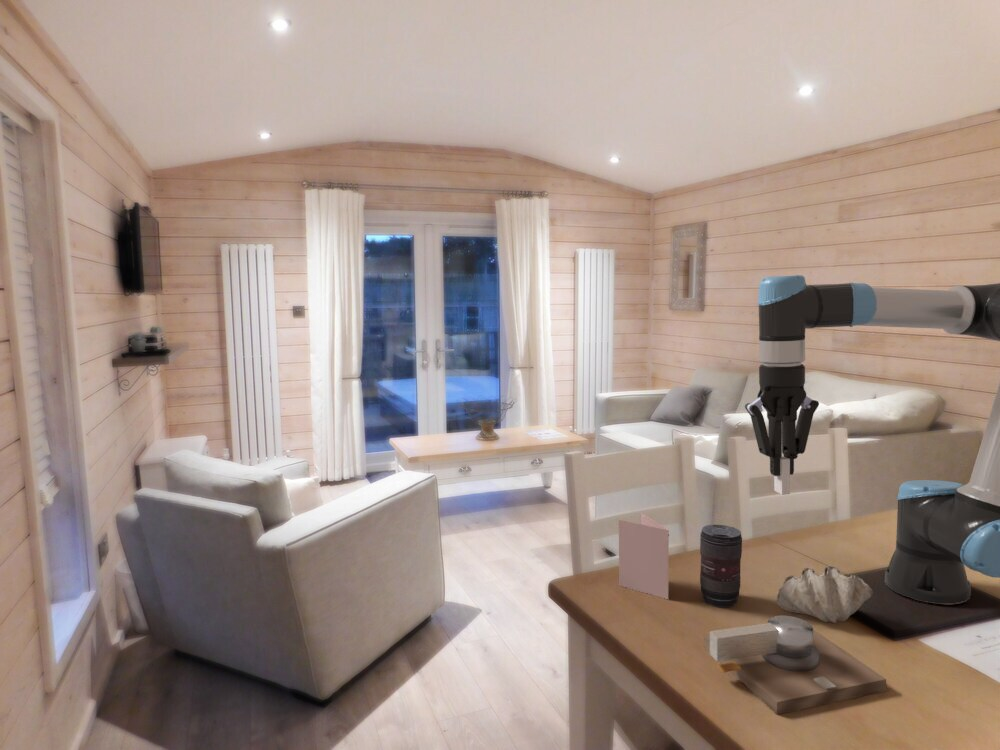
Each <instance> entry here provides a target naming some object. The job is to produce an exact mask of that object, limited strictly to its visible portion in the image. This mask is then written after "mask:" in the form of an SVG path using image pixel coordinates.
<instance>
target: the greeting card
mask: <svg viewBox="0 0 1000 750" xmlns="http://www.w3.org/2000/svg"><path fill="white" fill-rule="evenodd" d="M640 517H641V520H640V521H641V522H640V523H636V522H631V521H626V520H621V519H618V577H619V578H618V585H622V586H624V587H623V588H625V587H627V588H626V589H628V588H630V589H629V590H632V589H633V591H635V590H636V591H635V592H639V591H640V592H639V593H642V592H644V593H643V594H646V593H648V594H647V595H649V594H652V595H651V596H653V595H654V596H653V597H656V596H659V597H658V598H660V597H662V598H661V599H664V598H665V600H667V599H668V600H669V547H670V545H669V542H670V541H669V537H670V534H669V532H670V531H669V529H667V528H666V527H664V525H663V526H662V525H661V524H659V523H657V522H656V521H655V520H654V519H651V518H650V517H648V516H647V515H645V514H644V513H642V512H641V513H640Z"/></svg>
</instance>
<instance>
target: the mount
mask: <svg viewBox="0 0 1000 750" xmlns="http://www.w3.org/2000/svg"><path fill="white" fill-rule="evenodd" d="M703 648H704V649H705V650H706V651H708V652H709V653H710V635H706V636H705V635H704V636H703ZM718 662H719V663H720V664H717V669H719V670H720V671H721V672H722V673H731V672H732V673H733V674H732V673H731V674H732V675H734V676H735V678H736V679H738V680H739V681H740V682H741V683H742V682H743V683H744V684H745V685H746V686H747V687H746V686H745V685H744V684H743V683H742V684H743V685H744V686H745V687H746V688H747V689H749V691H751V692H752V693H753V694H754V695H755V696H756V697H757V698H758V699H759V698H760V699H761V700H760V699H759V700H760V701H761V702H762V703H763V704H765V705H766V706H767V707H768V708H769V709H770V710H771V711H772V712H773V711H774V712H773V713H775V715H781V714H786V713H789V711H790V712H795V711H798V710H799V709H800V710H804V709H807V708H812V707H818V706H822V705H823V706H824V705H827V704H832V703H836V702H841V701H844V700H845V701H846V700H849V699H854V698H859V697H863V696H869V695H873V694H878V693H883V692H886V691H887V679H886V678H885V677H884V676H883V675H881V674H879V673H878V672H877V671H875V670H874V669H872V668H871V667H869V666H867V665H866V664H865V663H864V662H862V661H860V660H859V659H858V658H856V657H854V656H853V655H852V654H850V653H848V651H846V650H844V649H842V648H841V647H840V646H838V645H837V644H836V643H834V642H833V641H831V640H830V639H829V638H827V637H826V636H824V635H823V634H821V633H819V632H818V631H817V630H815V629H814V628H813V651H812V654H811V655H809V656H807V657H803V658H792V657H787V656H783V655H780V654H778V653H772V654H765V655H759V656H752V657H745V658H738V659H732V660H725V661H718ZM730 671H731V672H730Z"/></svg>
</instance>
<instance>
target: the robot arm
mask: <svg viewBox="0 0 1000 750" xmlns="http://www.w3.org/2000/svg"><path fill="white" fill-rule="evenodd" d="M757 300H758V301H757V305H758V331H759V336H758V359H759V360H758V361H759V362H760V363H762V364H760V366H759V367H758V379H759V380H758V384H759V390H758V393H757V398H756V399H755V400H754V401H753V402H751V403H750V402H749V403H746V404H745V405H744V408H745V410H746V412H747V413H748V414H749V416H750V419H751V422H752V427H753V432H754V436H755V439H756V444H757V448H758V451H759V453H760V454H762V455H764V456H766V457H769V471H770V475H772V476H773V481H774V483H773V485H774V492H776V493H778V494H780V495H782V496H784V495H790V494H791V476H792V475H794V472H795V460H797V458H798V455H799V454H800V455H803V454H804V453H805V451H806V447H807V443H808V439H809V434H810V431H811V426H812V422H813V417H814V415H815V412H816V411H817V409H818V408H819V405H820V402H819V401H818V400H814V399H813V398H811V397H808V396H807V392H806V390H805V387H804V386H805V384H806V366H805V365H804V364H803V362H805V361H806V329H818V328H837V327H838V328H839V327H849V328H853V327H857V326H862V327H863V326H865V327H889V328H909V329H910V328H911V329H912V328H914V329H915V328H916V329H936V330H937V329H938V330H943V331H944V332H945V333H948V335H949V334H950V335H961V336H970V337H974V338H975V337H977V338H983V339H986V340H987V339H988V340H990V341H998V342H1000V282H997V283H991V284H981V285H980V284H979V285H955V286H952V287H949V288H948V289H947V290H946V289H945V290H944V289H943V290H942V289H940V290H939V289H919V288H917V289H915V288H896V287H895V288H890V287H889V288H888V287H872V286H871V285H869V284H867V283H865V282H861V283H858V282H855V283H854V282H847V283H834V284H833V283H829V284H823V283H822V284H807V283H806V278H805V276H804V275H800V274H797V275H796V274H795V275H779V276H778V275H777V276H766V277H763V278H762V279H761V280H760V281H759V286H758V299H757ZM993 400H994V401H993V404H992V406H991V410H990V413H989V416H988V420H987V423H986V426H985V430H984V433H983V436H982V439H981V443H980V446H979V450H978V452H977V457H976V459H975V462H974V465H973V469H972V473H971V476H970V478H969V482H967V483H966V484H962V483H960V482H955V481H950V480H949V481H948V480H947V481H946V480H937V479H916V480H915V479H913V480H907V481H904V482H902V483H901V484H900V485H899V488H898V494H897V498H896V501H897V512H896V513H897V514H896V515H897V518H896V535H895V537H896V538H895V539H896V541H895V551H894V552H893V554H892V557H891V558H890V561H889V564H888V566H887V568H886V570H885V572H884V584H885V583H886V584H885V586H886V585H887V586H888V587H889V588H890V589H891V590H890V589H889V588H888V587H887V586H886V587H887V588H888V589H889V590H890V591H892V590H893V591H895V592H897V593H899V594H902V595H905V596H907V597H911V598H914V599H918V600H922V601H928V602H935V603H956V602H961V601H965V600H967V599H969V598H970V596H971V597H972V586H971V582H970V581H969V580H968V576H967V572H966V568H968V569H969V570H972V571H974V572H978V573H980V574H982V575H985V576H987V577H990V578H996V579H1000V382H999V384H998V387H997V391H996V393H995V396H994V399H993ZM799 409H800V410H799ZM764 410H765V411H766V418H767V420H768V430H767V425H766V421H765V418H764V415H763V413H762V412H763V411H764ZM798 411H799V412H798ZM796 421H797V422H796ZM893 591H892V592H893ZM895 592H894V593H895ZM897 593H896V594H897ZM899 594H898V595H899ZM970 599H971V598H970Z"/></svg>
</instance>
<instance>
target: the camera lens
mask: <svg viewBox="0 0 1000 750" xmlns="http://www.w3.org/2000/svg"><path fill="white" fill-rule="evenodd" d="M699 537H700V539H699V540H700V541H699V544H700V545H699V547H700V548H699V552H700V572H699V584H700V592H701V594H702V599H703V601H704V603H706V602H707V603H706V604H707V605H711V606H712V607H717V608H729V607H734V606H735V605H737V602H738V597H739V596H740V589H741V559H742V553H743V538H742V532H741V531H740V529H738V528H736V527H733V526H730V525H726V524H707V525H705V526H702V528H701V531H700V536H699Z"/></svg>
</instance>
